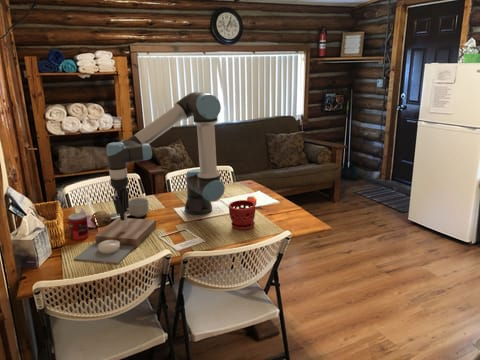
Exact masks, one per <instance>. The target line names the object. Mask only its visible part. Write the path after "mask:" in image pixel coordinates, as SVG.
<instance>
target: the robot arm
mask: <svg viewBox="0 0 480 360" xmlns="http://www.w3.org/2000/svg"><path fill="white" fill-rule="evenodd" d="M221 109H222V108H221V102H220V100H219V98H218V97H217V96H216V95H214V94H212V93H208V92H201V91H200V92H199V91H193V92H191V93H189V94H186V95H184V96H183V97H182V98H180V99H179V100H178V101H176V102H175V103H174V104H173V107H171V108H170V109H169V110H167V111H166V112H165V113H163V114H161V115H160V116H158V118H156V119H154V120H153V121H151V123H149V124H147V125H146V126H145V127H144V128H142V129H141V130H139V131H137V132H136V133H135V134H133V135H131V136H130V137H129V138H124V139H122V140H121V141H117V142H115V141H113V142H110V143H107V144H106V157H107V163H108V173H109V178H110V179H109V181H110V186H111V188H112V189H114V190H113V193H114V195H112V196H111V200H112V202H113V205H114V209H115V212H116V214H117V215H118V214H119V218H120V220H121V226H128V220H127V218H128V214H127V213H129V212H128V211H129V210H127V209H129V201H130V197H129V193H130V188H129V187H127V186H128V185H129V179H128V178H129V177H128V167H127V164H129V163H130V164H131V163H135V162H141V161H142V162H143V161H144V162H145V161H149V160H151V159H152V157H153V150H152V145H150V144H151V143H152V142H154V141H155V140H156V139H158V138H159V137H160V136H162V135H163V134H164V133H166V132H168V131H169V130H170V129H171V128H173V127H174V126H175V125H177V124H178V123H180V122H181V121H183V120H188V119H189V118H190V117H192V119H193V123H194V124H195V125H196V130H197V131H196V132H197V145H198V160H199V168H195V169H190V170H188V171H187V172H186V174H185V177H186V178H185V179H186V194H187V197H186V198H187V199H186V201H185V205H184V212H185V213H186V214H189V215H194V216H195V215H196V216H199V215H207V214H209V213H211V212H210V211H213V204H212V202H217V201H218V200H220V199H221V198H222V196H224V193H225V184H224V182H223V181H222V180H221V173H220V172H219V171H218V167H217V150H216V149H217V148H216V131H215V130H216V129H215V124H216V123H217V122H218V116H219V114H220V113H221Z"/></svg>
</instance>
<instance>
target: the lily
mask: <svg viewBox="0 0 480 360" xmlns="http://www.w3.org/2000/svg"><path fill="white" fill-rule="evenodd" d="M79 213H84V214H86V216H87V224H88V228H93V229H95V228H96V227H97V226H95V225H94V224H93V222H92V221H90V219H91V218H92V215H90V214H88V215H87V213H86V211H85V209H84V207H80V211H79Z"/></svg>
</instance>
